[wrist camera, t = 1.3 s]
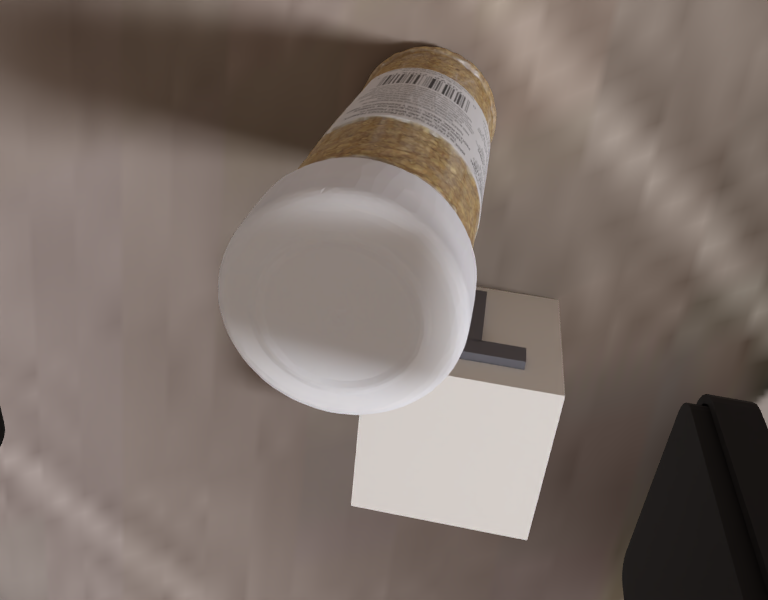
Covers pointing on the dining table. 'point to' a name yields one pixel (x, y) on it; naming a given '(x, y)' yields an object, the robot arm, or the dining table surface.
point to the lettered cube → (473, 426)
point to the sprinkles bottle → (369, 244)
